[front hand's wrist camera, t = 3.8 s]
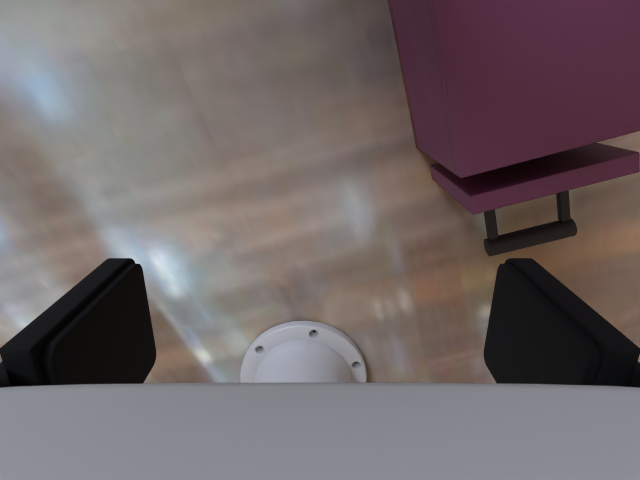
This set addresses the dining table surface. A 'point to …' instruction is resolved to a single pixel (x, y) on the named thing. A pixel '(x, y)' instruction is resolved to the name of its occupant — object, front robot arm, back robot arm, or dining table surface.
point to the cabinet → (517, 76)
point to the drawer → (535, 189)
